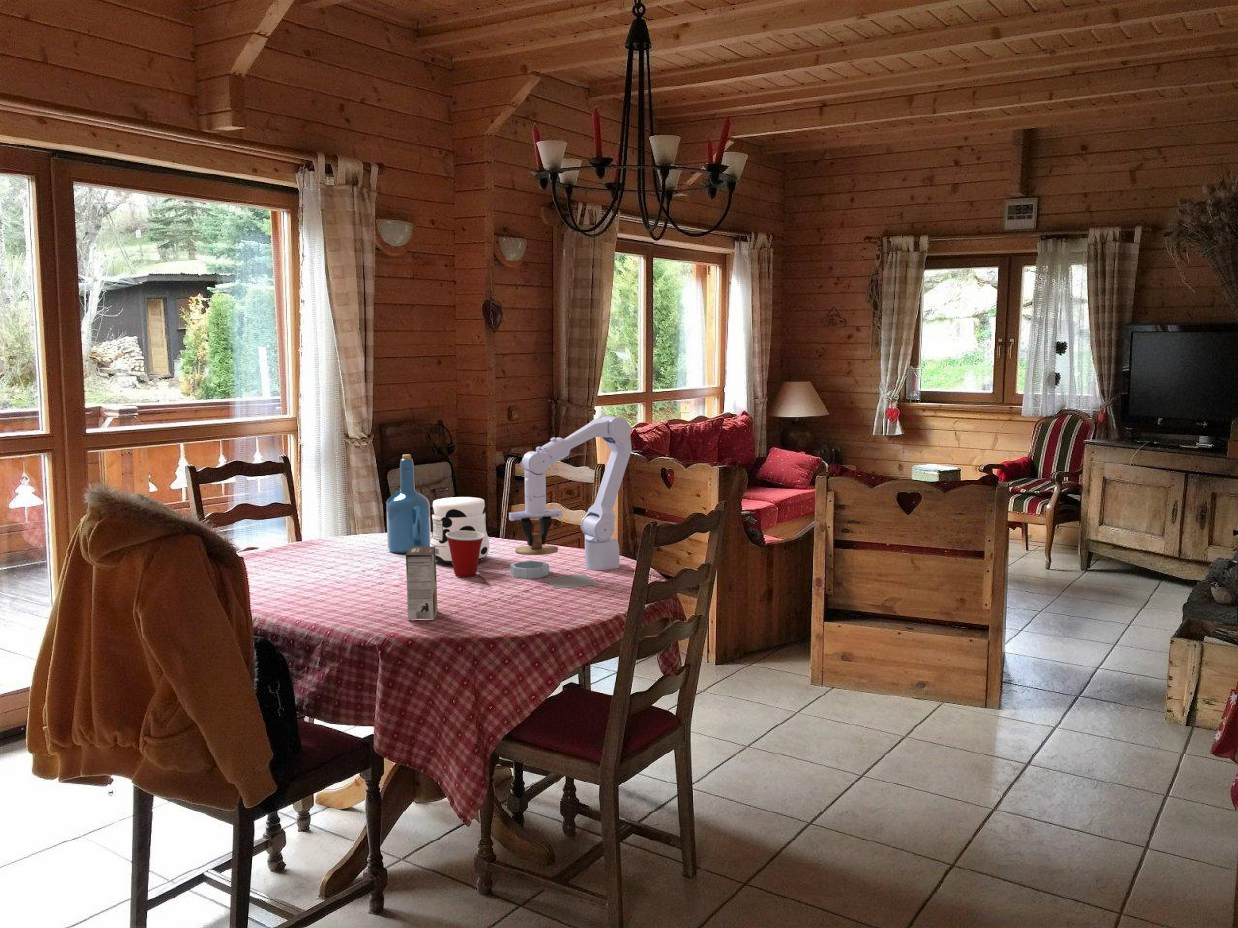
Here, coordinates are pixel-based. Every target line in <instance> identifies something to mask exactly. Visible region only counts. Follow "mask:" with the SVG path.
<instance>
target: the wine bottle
mask: <svg viewBox="0 0 1238 928" xmlns="http://www.w3.org/2000/svg"><path fill="white" fill-rule="evenodd" d="M401 457H402V458H400V463H399V471H400V487H399V488H400V489H399V490H397V491H396V492H395V493H394V494H393V495H391V496H389V498H387V500H386V501H385V504H386V506H385V507H386V534H387V548H388V550H389V552H392V553H394V554H395V553H396V554H401V555H402V554H405V555H406V554H407V552H408V549H409V547H415V546H426V547H430V542H431V537H432V534H431V503H430V501H429V499H428V498H427V497H426V496H425V495H423V494H422V493H419V492H417V490H416V489H415V488H416V487H415V485H416V484H415V473H414V471H415V468H414V467H415V466H414V460H413V458H412V455H411V454H409V453H408V454H407V453H406V454H402V456H401Z"/></svg>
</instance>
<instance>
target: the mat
mask: <svg viewBox="0 0 1238 928" xmlns="http://www.w3.org/2000/svg"><path fill="white" fill-rule="evenodd" d="M542 578H543V580H544V581H546V582H547V583H548V584H549V585H551V586H552V587H553V588H554V589H565V588H566V589H568V588H575V587H576V588H577V587H588V586H589V587H590V586H597V585H600V584H599V582H597V581H595V580H594V579H592V577H590V576H588V575H587V574H574V575H563V576H562V575H561V576H553V577H552V576H551V577H550V576H549V577H542Z"/></svg>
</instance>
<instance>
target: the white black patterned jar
mask: <svg viewBox="0 0 1238 928" xmlns="http://www.w3.org/2000/svg"><path fill="white" fill-rule="evenodd" d="M431 512H432V515H431V518H432V519H431V520H432V534H431V542H430V547H435V553H436V562H440V563H443V564H451V565H453V564H452V559H451V553H450V548H449V543H448V539H447V536H446V533H447V532H450V531H460V530H465V531H475V532H480V533H483V534H484V535H485V537H484V538H483V540H482V543H481V547H480V554H479V560H478V562H479V561H482V560H484V559H486V557H488V555H489V551H490V539H489V536H488V533H487V526H486V515H487V514H486V503H485V499H483V498H481V497H474V496H473V497H472V496H455V497H453V496H451V497H444V498H438V499H435V500H433V502H432V509H431Z"/></svg>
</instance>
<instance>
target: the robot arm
mask: <svg viewBox="0 0 1238 928" xmlns="http://www.w3.org/2000/svg"><path fill="white" fill-rule="evenodd" d="M631 433H632V427H631V425H630V423H629V422H628V421H627V419H626V418H624V417H622V416H612V415H608V414H603V415H600V416H599V417H597V418H594V419H592V420H591V421H590V422H589V423H587V424H586V425H584V426H582V427H581V428H579V429H577V430H576V431H574V432H573V433H571V434H570V435H568V436H567V437H565V438H562V437H555V436H554V437H551V438H550V439H549V441H548V442H547V443H545V444H544V445H542V446H537V447H536V448H535V451H533V450H532V451H527V452H526V453H525V454H524V455H523V457H522V459H521V461H520V466H521V468H522V469H523V471H524V510H522V511H521V510H520V511H514V512H508V520H509V521H511V522H514V521H519V523H520V525H521V528H522V529H523V531H524V532H523V533H524V535H525V539H526V543H527V546H532V534H533V530H532V529H533V525H534V523H533V522H532V520H533V519H534V520H537V519H538V522H539V532H540V534H542V545H546V540H547V536H548V533H549V531H550V528H551V526H552V524H553V519H552V518H563V510H562V509H547V486H546V485H547V482H546V481H547V480H546V479H547V478H546V472H548V470H549V468H550V466H553V465H555V464H556V463H557V462H559V461H562V460H563V459H565V458H566V457H569V455H570V453H571V450H572V449H573V448H576V447H577V446H579V445H581V444H584V443H586V442H588V441H589V440H591V439H593V438H601V439H603V440H604V441H605V442H606V445H607V446H608V448H609V449H610V453H609V456H608V459H607V464H606V466H605V469H604V472H603V476H602V479H601V482H600V485H599V488H598V491H597V495H596V498H595V500H594V503H593V504H592V505H591V506H590V507H588V510H587V513H586V514H585V515H584V517H582V519H581V522H580V530H581V532H582V533H583V534H584V568H585V569H586V570H590V571H605V570H611V569H620V544H619V541H618V539H617V538H612V536H614V534H615V519H616V516H615V515H616V514H615V513H614V506H615V503H616V501H617V497H618V495H619V490H620V488H621V484H622V482H623V478H624V475H625V472H626V469H627V466H628V463H629V460H630V456H631V453H632V449H633V448H632V440H631Z"/></svg>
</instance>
